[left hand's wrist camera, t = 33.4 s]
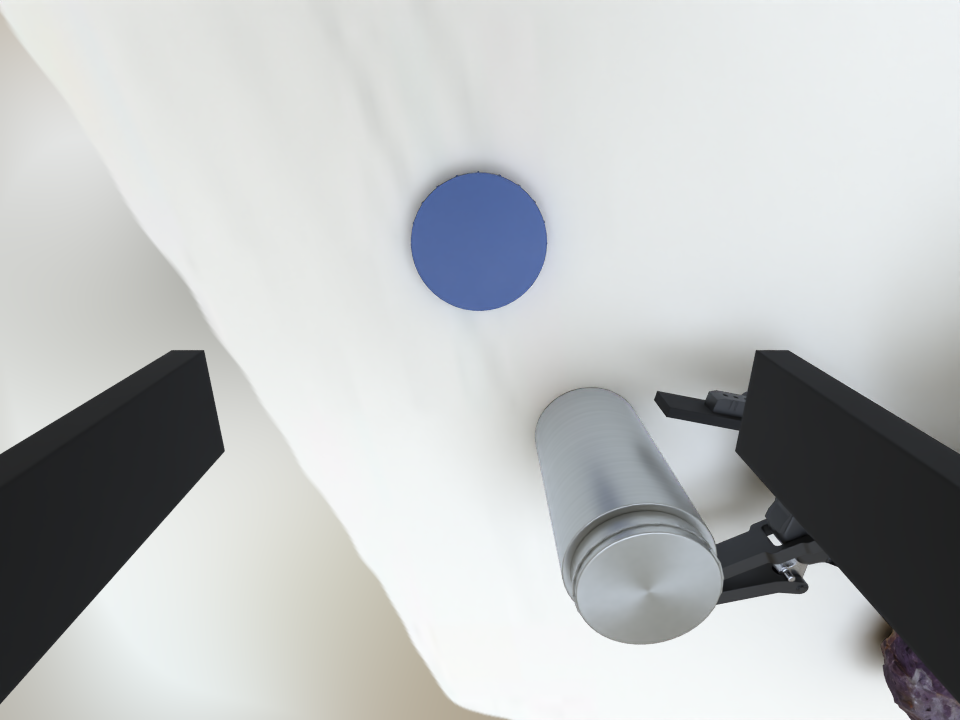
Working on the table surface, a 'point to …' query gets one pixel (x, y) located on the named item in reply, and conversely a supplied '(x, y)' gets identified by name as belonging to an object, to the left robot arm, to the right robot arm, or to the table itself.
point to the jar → (623, 522)
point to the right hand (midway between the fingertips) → (631, 482)
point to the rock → (915, 684)
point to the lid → (478, 241)
